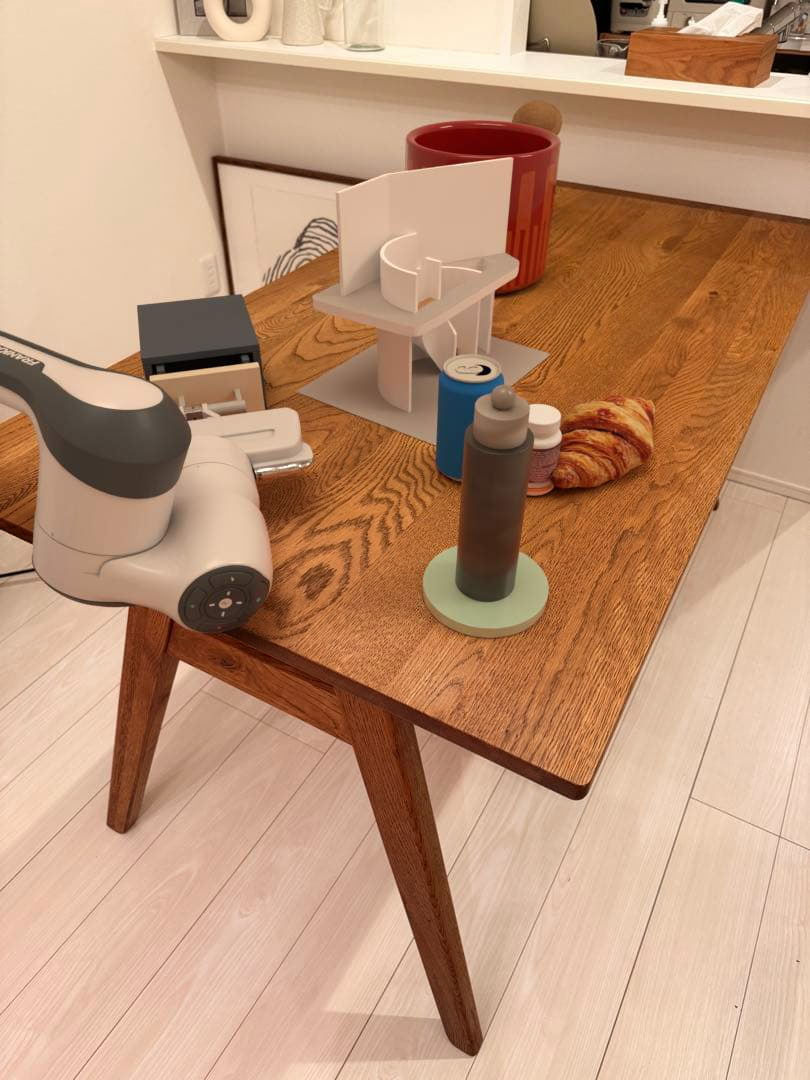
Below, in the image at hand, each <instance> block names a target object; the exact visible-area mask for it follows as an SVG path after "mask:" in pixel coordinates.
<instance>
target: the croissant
mask: <svg viewBox="0 0 810 1080" xmlns="http://www.w3.org/2000/svg"><path fill="white" fill-rule="evenodd" d="M655 407H656V406H655V405H654V402H653V400H652V399H646V400H645V399H644V398H642V397H640V396H635V395H632V396H628V397H625V396H622V395H619V394H608V395H606V396H605V397H602V398H601V399H600V400H598V401H597V400H596V401H595V400H594V401H588V402H584V403H578V404H576V405H574V407H573V408H572V409H571V410H570V411H569V412H568V413H567V414H566V416H564V419H563V420H562V421H561V423H560V428H559V429H560V431H561V435H562V440H561V445H560V452H559V458H558V463H557V466H556V469H555V470H554V471H553V472H552V473H551V476H550V479H551V482H552V483H553V485H554V487H555V486H556V487H557V488H561V489H570V488H578V487H580V488H585V489H586V488H595V487H599V486H602V484H604V483H606V482H609V481H611V480H612V481H616V480H618V479H621V478H622V477H624V476H625V475H626V474H628V473H630V471H632V470H633V469H636V468H638V467H640V466H641V465H643V464H645V463H647V461H649V460H650V459H651V458H652V456H653V453H654V439H653V438H654V430H653V428H654V423H655V422H654V421H655V415H654V414H655V411H656V408H655Z"/></svg>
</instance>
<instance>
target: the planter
mask: <svg viewBox="0 0 810 1080" xmlns="http://www.w3.org/2000/svg"><path fill="white" fill-rule="evenodd" d="M561 145H562V140H561V139H560V137H559V136H558V135H555V134H554V133H552V132H550V131H548V130H545V129H542V128H539V127H535V126H531V125H526V124H520V123H512V121H504V120H503V121H501V120H488V119H487V120H483V119H481V120H478V119H474V120H473V119H470V120H466V119H465V120H450V121H442V122H441V121H440V122H435V123H430V124H426V125H422V126H420V127H416V128H413V129H412V130H410V131H409V132H408V133H407V134H406V137H405V146H404V147H405V151H404V153H405V156H404V171H410V170H418V169H425V168H433V167H440V166H448V165H456V164H463V163H471V162H478V161H486V160H494V159H501V158H509V157H511V158H513V168H512V179H511V191H510V202H509V213H508V225H507V236H506V247H505V253H507V254H509V255H510V256H512V257H514V258H515V259H517V260H518V261H519V270H518V274H517V276H516V277H515V278H514V279H512V280H510V281H509V282H507V283H506V284H504V285H502V286H501V287H499V288H498V289H496V290H495V294H494V296H497V295H504V294H509V293H514V292H518V291H520V290H523V289H525V288H528V287H530V286H531V285H533V284H535V283H537V282H538V281H539V280H540V279H541V278H542V277H543V276H544V274H545V272H546V268H547V262H548V253H549V245H550V239H551V238H550V236H551V230H552V229H551V228H552V221H553V212H554V207H555V206H554V205H555V197H556V188H557V179H558V170H559V163H560V154H561Z"/></svg>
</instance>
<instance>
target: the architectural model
mask: <svg viewBox="0 0 810 1080" xmlns="http://www.w3.org/2000/svg"><path fill="white" fill-rule="evenodd" d="M512 168H513V158H511V157H509V158H501V159H494V160H486V161H478V162H471V163H463V164H456V165H448V166H440V167H433V168H425V169H418V170H410V171H405V170H402V171H396V172H387V173H384V174H381V175H379V176H376V177H373V178H371V179H368V180H365V181H363V182H362V181H361V182H359V183H357V184H354V185H351V186H349V187H346V188H343V189H341V190H338V191H335V206H336V207H335V208H336V224H337V226H336V227H337V228H336V229H337V246H338V247H337V248H338V263H339V264H338V267H339V281H338V282H336V283H334V284H332V285H330V286H328V287H326V288H324V289H322V290H320V291H317V292H316V293H314V294H313V295H312V296H311V298H312V299H311V300H312V308H313V310H315V311H318V312H321V313H324V314H327V315H330V316H333V317H338V318H340V319H343V320H348V321H351V322H355V323H358V324H363V325H366V326H369V327H373V328H376V343H374V344H372V345H370V346H369V347H367V348H366V349H364V350H362V351H360V352H359V353H357V354H355V355H354V356H352V357H350V358H349V359H347V360H346V361H343V362H342V363H341V364H339V365H337V366H336V367H333V368H332V369H330V370H329V371H327V372H326V373H324V374H322V375H321V376H319V377H317V378H316V379H313V380H312V381H311V382H309V383H307V384H305V385H304V386H301V388H298V389H297V390H296V391H295V393H297V394H300V395H303V396H306V397H308V398H310V399H313V400H316V401H318V402H321V403H323V404H327V405H329V406H332V407H335V408H337V409H339V410H342V411H345V412H347V413H349V414H353V415H355V416H357V417H360V418H363V419H366V420H368V421H371V422H373V423H376V424H378V425H381V426H383V427H386V428H389V429H391V430H394V431H396V432H399V433H402V434H404V435H407V436H410V437H412V438H414V439H417V440H420V441H423V442H424V443H428V444H430V445H433V446H435V447H436V439H437V412H438V385H439V375H440V373H441V371H442V370H443V368H444V363H445V362H446V361H447V360H448V359H450V358H452V357H455V356H458V355H464V354H476V355H483V356H486V357H489V358H492V359H494V360H495V361H497V362H498V363H499V364H500V366H501V373H502V375H503V377H504V385H508V386H510V387H512V386H514V385H515V384H516V383H518V382H519V381H521V379H522V378H524V377H525V376H526V375H527V374H528V373H530V372H531V371H532V370H534V369H535V368H537V366H539V365H540V364H541V363H542V362H544V361H545V360H546V359H547V358H548V357H549V356H551V355H552V353H549V352H546V351H543V350H540V349H536V348H532V347H529V346H527V345H523V344H519V343H516V342H512V341H510V340H506V339H503V338H499V337H496V336H492V330H493V329H492V328H493V318H494V304H495V295H494V294H495V290H496V289H498V288H499V287H501V286H502V285H504V284H506V283H507V282H509V281H510V280H512V279H514V278H515V277H516V276H517V274H518V270H519V261H518V260H517V259H515V258H514V257H512V256H510V255H509V254H507V253H505V247H506V236H507V225H508V213H509V202H510V191H511V179H512Z"/></svg>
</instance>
